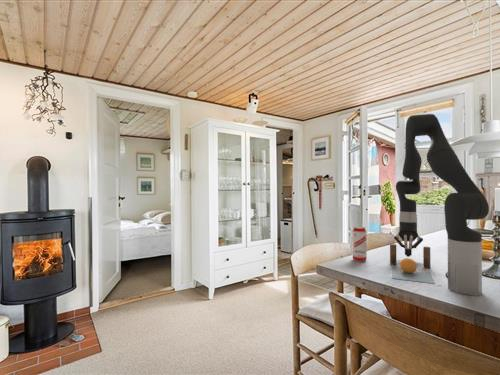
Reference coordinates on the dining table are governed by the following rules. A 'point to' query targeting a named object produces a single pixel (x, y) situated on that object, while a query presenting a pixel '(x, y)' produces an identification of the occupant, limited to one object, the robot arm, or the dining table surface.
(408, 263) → the ball
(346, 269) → the dining table surface
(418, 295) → the dining table surface
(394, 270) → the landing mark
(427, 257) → the right post
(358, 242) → the beer can
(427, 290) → the dining table surface
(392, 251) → the left post
